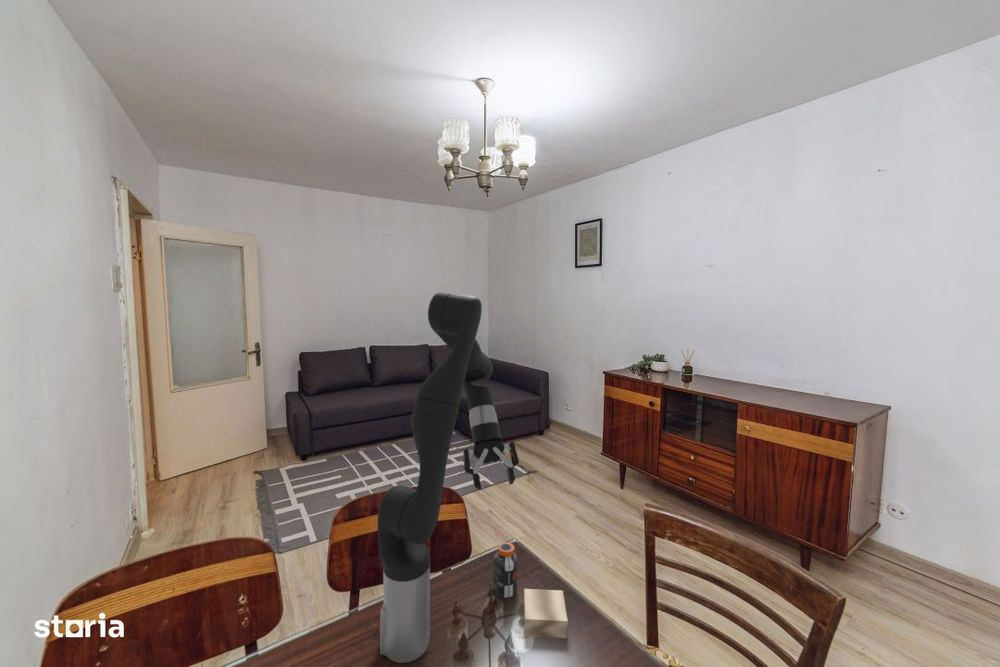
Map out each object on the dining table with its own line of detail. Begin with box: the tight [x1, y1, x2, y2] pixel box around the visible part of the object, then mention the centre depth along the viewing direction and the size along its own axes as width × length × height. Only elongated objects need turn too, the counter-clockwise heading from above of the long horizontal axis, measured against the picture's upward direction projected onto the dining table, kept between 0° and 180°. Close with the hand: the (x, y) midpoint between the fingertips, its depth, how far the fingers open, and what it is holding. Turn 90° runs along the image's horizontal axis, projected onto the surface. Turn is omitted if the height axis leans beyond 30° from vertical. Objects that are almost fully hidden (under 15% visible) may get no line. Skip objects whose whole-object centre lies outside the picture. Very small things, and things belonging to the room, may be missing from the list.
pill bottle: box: [492, 542, 519, 599], centre depth 102 cm, size 6×6×11 cm
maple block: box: [523, 588, 569, 639], centre depth 93 cm, size 9×9×4 cm
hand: (495, 486), depth 106 cm, fingers open, 8 cm apart
